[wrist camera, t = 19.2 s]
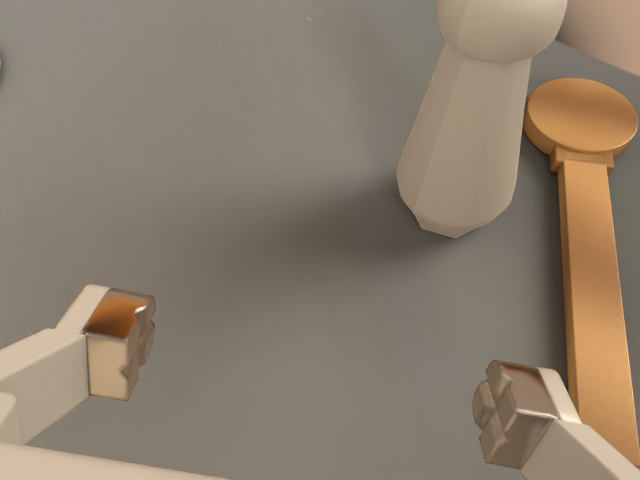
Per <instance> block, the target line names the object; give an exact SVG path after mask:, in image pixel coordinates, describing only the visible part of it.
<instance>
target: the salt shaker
mask: <svg viewBox="0 0 640 480" xmlns="http://www.w3.org/2000/svg"><path fill="white" fill-rule="evenodd" d="M567 1H568V0H437V12H436V16H437V21H438V25H439V28H440V31H441V34H442V38H443V39H444V40H445V41H446V43H445V46H444V48H443V51H442V53H441V56H440V59H439V61H438V64H437V66H436V69H435V71H434V74H433V76H432V79H431V82H430V84H429V87H428V89H427V92H426V94H425V97H424V100H423V102H422V105H421V107H420V110H419V112H418V115H417V117H416V120H415V123H414V125H413V128H412V130H411V133H410V135H409V138H408V140H407V143H406V146H405V148H404V151H403V153H402V156H401V158H400V161H399V163H398V166H397V169H396V174H397V181H398V186H399V192H400V197H401V198H402V200H403V201H404V202H405V203H406V205H407V206H408V207H409V209H410V210H411V211H412V212H413V214H414V215H415V217H416V219H417V221H418V223H419V226H420V228H421V229H424V230H427V231H431V232H434V233H437V234H440V235H444V236H447V237H450V238H453V239H456V238H458V237H460V236H462V235H464V234H466V233H468V232H470V231H472V230H474V229H477V228H479V227H481V226H484V225H486V224H488V223H490V222H491V221H492V220H494V219H495V218H496V217H497V216H498V215H499V214H501V213H502V212H503V211H504V210H505V209H506V208H507V207H508V205H509V204H510V203H511V200H512V196H513V192H514V189H515V185H516V179H517V170H518V162H519V153H520V144H521V135H522V126H523V117H524V108H525V101H526V94H527V87H528V81H529V74H530V67H531V60H532V57H534V56H535V55H537V54H538V53H539V52H541V51H542V50H544V49H545V48H546V47H548V46H549V45H550V44H551V43H552V41H553V40H554V39H555V37H556V35H557V33H558V31H559V28H560V26H561V24H562V21H563V18H564V14H565V10H566V6H567Z"/></svg>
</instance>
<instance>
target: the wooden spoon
mask: <svg viewBox="0 0 640 480" xmlns="http://www.w3.org/2000/svg"><path fill="white" fill-rule="evenodd" d="M523 128H524V131H525V134H526V136H527V137H528V139H529V140H530V141H531V142H532V143H533V145H534V146H536V147H537V148H538V149H539V150H541V151H542V152H543V153H545V154H547V155H548V156H550V171H551V172H555V173H558V186H559V206H560V226H561V246H562V266H563V286H564V306H565V327H566V347H567V367H568V387H569V396H570V399H571V401H572V403H573V405H574V407H575V409H576V411H577V413H578V416H579V418H580V420H581V422H582V424H585V425H589V426H590V427H591V428H592V429H593V430H595V431H596V432H597V433H598V434H599V435H600V436H601V437H602V438H604V439H605V440H606V441H607V442H608V443H609V444H610V445H611V446H613V447H614V448H615V449H616V450H617V451H618V452H619V453H620V454H622V455H623V456H624V457H625V458H626V459H627V460H628V461H630V462H631V463H632V464H633V465H634V466H635V467H636V468H637V469H638V468H640V449H639V441H638V432H637V423H636V415H635V406H634V398H633V389H632V381H631V372H630V364H629V355H628V347H627V338H626V329H625V321H624V312H623V304H622V295H621V287H620V278H619V270H618V261H617V253H616V244H615V235H614V227H613V218H612V210H611V201H610V193H609V184H608V176H609V175H610V173H611V171H612V170H613V168H614V162H613V159H615V158H617V157H618V156H619V155H621V154H622V153H623V152H624V151H625V149H626V148H627V146H628V145H629V143H630V141H631V140H632V138H633V137H634V135H635V133H636V131H637V128H638V117H637V113H636V111H635V109H634V107H633V106H632V104H631V103H630V102H629V101H628V100H627V99H626V98H625V97H624V96H623V95H622V94H620V93H619V92H617V91H616V90H614V89H613V88H611V87H609V86H606V85H604V84H602V83H599V82H596V81H592V80H587V79H581V78H561V79H556V80H552V81H549V82H546V83H544V84H542V85H541V86H539V87H538V88H537V89H536V90H534V92H533V93H532V94H531V96H530V97H529V100H528V102H527V105H526V108H525V111H524V117H523Z"/></svg>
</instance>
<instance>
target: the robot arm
mask: <svg viewBox="0 0 640 480" xmlns="http://www.w3.org/2000/svg"><path fill="white" fill-rule="evenodd" d="M0 69H1V59H0ZM155 300H156V299H155V298H154V296H149V295H145V294H140V293H135V292H130V291H125V290H121V289H116V288H109V287H104V286H100V285H95V284H88V285H86V286H85V287H84V288H83V289H82V291H81V292H80V294H79V295H78V296H77V298H76V299H75V300H74V302H73V303H72V305H71V306H70V307H69V309H68V310H67V311H66V313H65V314H64V316H63V317H62V318H61V320H60V321H59V322H58V324H57V325H56V327H55V328H54V329H49V328H46V329H44V330H42V331H40V332H37V333H35V334H33V335H31V336H29V337H27V338H24V339H22V340H20V341H18V342H16V343H13V344H11V345H9V346H7V347H5V348H3V349H0V480H232V479H226V478H220V477H214V476H208V475H202V474H196V473H190V472H183V471H177V470H171V469H165V468H159V467H153V466H147V465H141V464H135V463H129V462H123V461H116V460H110V459H104V458H98V457H92V456H86V455H80V454H74V453H68V452H62V451H56V450H49V449H43V448H37V447H31V446H25V444H26V443H28V442H29V441H30V440H32V439H33V438H35V437H36V436H37V435H39V434H40V433H41V432H43V431H44V430H45V429H47V428H48V427H50V426H51V425H52V424H54V423H55V422H56V421H58V420H59V419H61V418H62V417H63V416H65V415H66V414H67V413H69V412H70V411H71V410H73V409H74V408H76V407H77V406H78V405H80V404H81V403H82V402H84V401H85V400H86V399H88V398H89V396H96V397H103V398H110V399H117V400H124V401H128V400H129V397H130V395H131V393H132V391H133V389H134V387H135V385H136V382H137V380H138V374H139V367H141V366H142V365H144V364H145V363H146V360H147V358H148V356H149V353H150V350H151V347H152V343H153V338H154V330H155V324H154V323H153V322H152V320H151V318H152V316H153V314H154V312H155ZM486 374H487V377H488V379H486V380H484V381H483V382H481V383H479V385H478V387H477V389H476V391H475V393H474V398H473V415H474V420H475V423H476V424H477V425H478V426H479V427H480V428H481V429H482V430H483V432H482V434H481V436H480V437H479V440H480V444H481V447H482V451H483V455H484V459H485V463H490V464H495V465H500V466H505V467H510V468H515V469H520V472H521V474H522V475H523V476H524V477H525V479H526V480H640V470H639V469H637V468H636V467H635V466H634V465H633V464H632V463H631V462H630V461H628V460H627V459H626V458H625V457H624V456H623V455H622V454H620V453H619V452H618V451H617V450H616V449H615V448H614V447H613V446H611V445H610V444H609V443H608V442H607V441H606V440H605V439H604V438H602V437H601V436H600V435H599V434H598V433H597V432H596V431H595V430H593V429H592V428H591V427H590V426H589V425H585V424H582V422H581V420H580V418H579V416H578V413H577V411H576V409H575V407H574V405H573V403H572V401H571V399H570V396H569V394H568V392H567V390H566V388H565V386H564V384H563V382H562V380H561V377H560V375H559V374H558V372H556V371H555V370H553V369H547V368H541V367H535V366H534V367H532V366H527V365H522V364H516V363H510V362H505V361H499V360H493V361H492V362H491V363H490V364H489V365H488V367H487V369H486Z"/></svg>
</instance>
